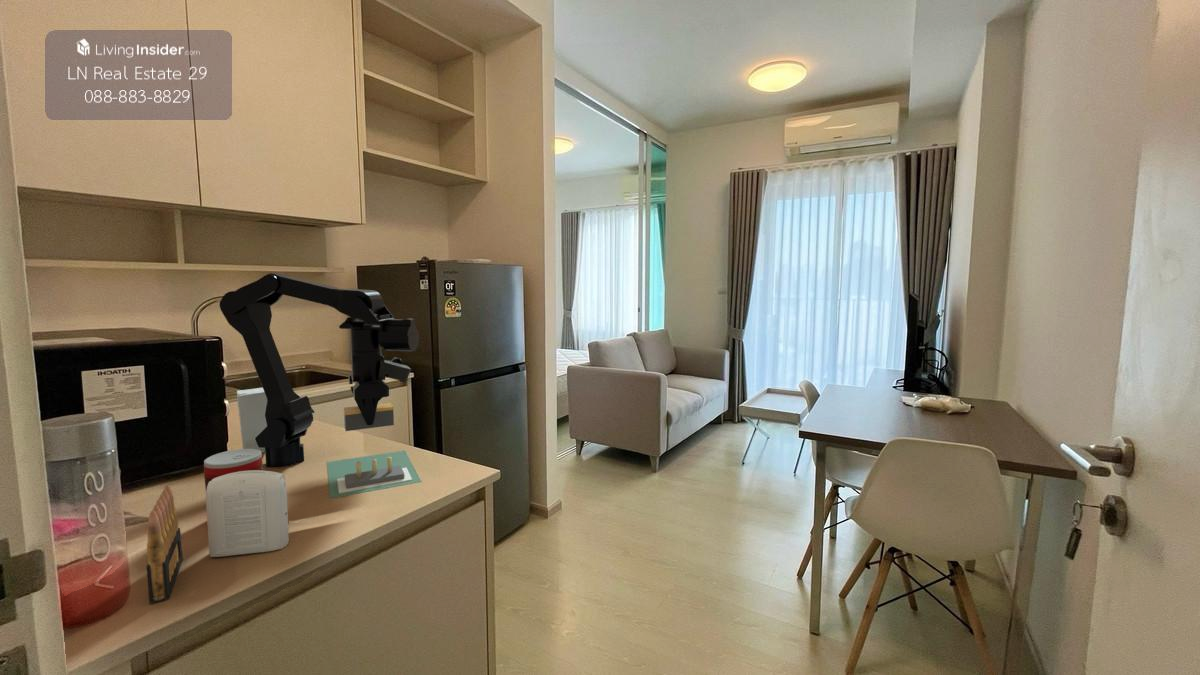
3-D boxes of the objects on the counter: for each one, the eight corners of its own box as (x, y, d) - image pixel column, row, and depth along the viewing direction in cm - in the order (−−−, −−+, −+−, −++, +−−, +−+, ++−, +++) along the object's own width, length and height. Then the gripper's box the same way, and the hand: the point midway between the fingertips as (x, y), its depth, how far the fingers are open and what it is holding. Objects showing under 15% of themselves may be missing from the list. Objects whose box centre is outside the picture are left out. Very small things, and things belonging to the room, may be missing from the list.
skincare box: (281, 443, 121) (278, 384, 119) (285, 449, 116) (281, 389, 114) (240, 449, 115) (236, 389, 114) (241, 457, 111) (237, 394, 109)
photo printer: (293, 537, 78) (289, 463, 76) (284, 551, 74) (280, 474, 72) (217, 546, 75) (212, 469, 73) (204, 561, 71) (197, 480, 69)
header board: (330, 506, 88) (329, 476, 88) (327, 468, 105) (326, 443, 105) (421, 488, 97) (421, 461, 96) (405, 456, 114) (404, 433, 113)
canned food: (275, 510, 86) (272, 451, 85) (228, 532, 79) (224, 467, 78) (245, 503, 89) (241, 445, 88) (197, 523, 81) (192, 460, 80)
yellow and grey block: (345, 431, 99) (344, 412, 99) (344, 426, 103) (343, 407, 102) (393, 425, 104) (393, 407, 103) (391, 420, 107) (390, 402, 107)
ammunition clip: (166, 563, 70) (159, 484, 69) (183, 559, 71) (176, 481, 70) (149, 605, 61) (140, 515, 60) (168, 600, 62) (160, 511, 61)
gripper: (414, 354, 97) (416, 428, 99) (400, 342, 113) (402, 407, 115) (353, 357, 92) (356, 437, 94) (347, 345, 108) (349, 413, 109)
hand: (369, 422), depth 103 cm, fingers closed on yellow and grey block, 4 cm apart
